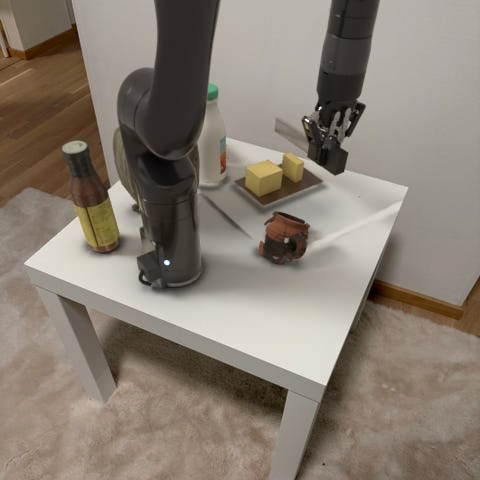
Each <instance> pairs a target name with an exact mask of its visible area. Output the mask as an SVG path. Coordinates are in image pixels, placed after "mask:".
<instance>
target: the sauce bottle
mask: <svg viewBox="0 0 480 480" xmlns="http://www.w3.org/2000/svg"><path fill="white" fill-rule="evenodd" d="M61 151H62V154H63V157H64V159H65V160H66V163H67V165H68V168H69V173H70V175H69V176H70V177H69V180H68V190H69V193H70V196H71V199H72V203H73V206H74V209H75V212H76V215H77V218H78V220H79V222H80V226H81V229H82V232H83V234H84V237H85V240H86V242H87V244H88V246H89V248H90V249H91V250H92V251H95V252H97V253H108V252H112V251H113V250H116V249H117V248H118V246H119V245H120V243H121V237H120V229H119V225H118V222H117V219H116V216H115V211H114V209H113V208H114V207H113V205H112V201H111V197H110V194H109V190H108V187H107V186H106V184H105V183H104V181H103V180H102V179H101V177H100V175H99V174H98V172H97V170H96V169H95V168H94V167H95V166H94V165H93V162H92V159H91V155H90V154H91V153H90V152H91V151H90V148H89V145H88V144H87V142H85V141H82V140H72V141H69V142H67V143H65V144H64V145H63V146H62V147H61Z"/></svg>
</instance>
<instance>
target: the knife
mask: <svg viewBox="0 0 480 480" xmlns="http://www.w3.org/2000/svg"><path fill="white" fill-rule="evenodd" d="M274 122H275V123H274V133H276V134H278V135H279V136H281V137H282V138H283V139H285V140H286V141H288V142H290V143H291V144H293V145H294V146H295V147H297V148H298V149H300V151H303V152H304V153H306V154H307V156H306V157H307V159H309V160H311V161H312V162H314V163H315V161H314V155H315V149H316V147H315V146H313V145H312V144H310V143H308V141H307V138H306V134H305V132H303V131H301V130H300V129H298V128H296V127H295V126H293V125H291V124H290V123H288V122H287V121H286V120H284V119H282V118H281V117H279V116H276V117H275V121H274ZM322 139H324V135H322ZM327 148H328V151H327V156H326V162H325V165H324V166H322V167H321V168H322V169H324V170H325V171H327V172H328V173H330V174H331V175H333V176H334V177H336V176H339V175H341V174H343V173H345V170H346V166H347V162H348V157H349V151H347V150H345V149H344V148H342V147H341V146H340V147H339V146H337V145H336V144H334V143H332V142H331V141H329V144H328V147H327Z"/></svg>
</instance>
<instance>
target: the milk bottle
mask: <svg viewBox="0 0 480 480" xmlns="http://www.w3.org/2000/svg"><path fill="white" fill-rule="evenodd" d="M218 101H219V87H218V85H216V84H214V83H210V82H209V86H208V96H207V106H206V114H205V120H204V125H203V129H202V133H201V135H200V138H199V140H198V142H197V144H198V151H199V159H200V168H199V183H203V184H215V183H218V182H220V181H222V180H224V179H225V178H226V175H227V131H226V124H225V120H224V118H223V116H222V114H221V111H220V107H219V106H218V105H219V104H218Z"/></svg>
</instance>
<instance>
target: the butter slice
mask: <svg viewBox="0 0 480 480" xmlns="http://www.w3.org/2000/svg"><path fill="white" fill-rule="evenodd" d="M281 164H282V170H283V172H282V174H284V175H285V176H286V177H288V178H289V179H291V180H292V181H293V182H295V183H296V182H298V181H301V180H302V174H303V168H305V161H304V160H302V158H299V157H298V156H297V155H295V154H293V153H292V152H291V151H288V152H285V153H283V154H282V160H281Z"/></svg>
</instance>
